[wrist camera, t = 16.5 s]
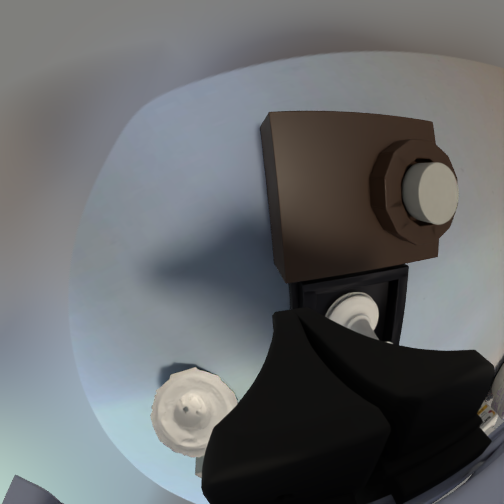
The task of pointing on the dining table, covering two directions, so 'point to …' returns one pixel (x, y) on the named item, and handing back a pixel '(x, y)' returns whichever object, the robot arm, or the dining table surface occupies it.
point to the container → (487, 418)
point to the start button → (430, 192)
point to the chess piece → (355, 313)
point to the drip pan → (370, 282)
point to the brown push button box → (345, 191)
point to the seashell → (190, 410)
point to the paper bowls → (498, 393)
